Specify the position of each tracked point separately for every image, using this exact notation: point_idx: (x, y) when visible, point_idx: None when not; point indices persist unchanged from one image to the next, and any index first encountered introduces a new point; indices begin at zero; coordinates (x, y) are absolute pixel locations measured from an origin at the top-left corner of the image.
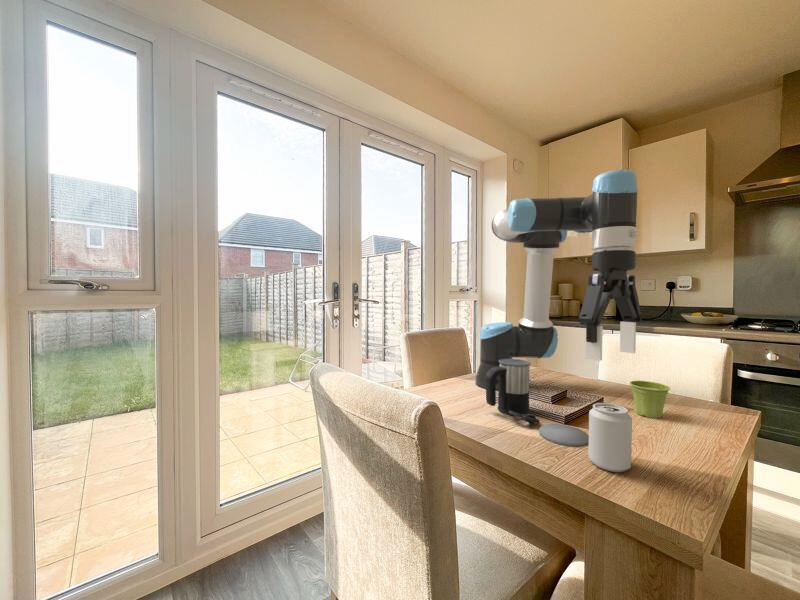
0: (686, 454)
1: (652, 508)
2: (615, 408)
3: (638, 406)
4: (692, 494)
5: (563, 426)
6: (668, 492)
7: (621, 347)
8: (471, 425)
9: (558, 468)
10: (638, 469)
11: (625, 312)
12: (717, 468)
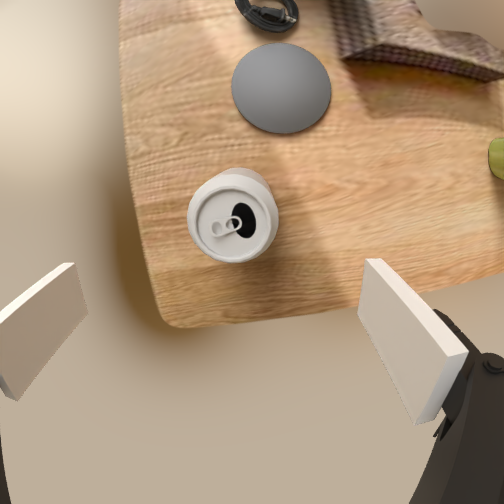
0: (386, 253)
1: (174, 285)
2: (271, 216)
3: (498, 147)
4: (254, 300)
5: (313, 69)
6: (232, 283)
7: (372, 274)
8: None
9: (152, 163)
10: None
11: (439, 460)
12: None
